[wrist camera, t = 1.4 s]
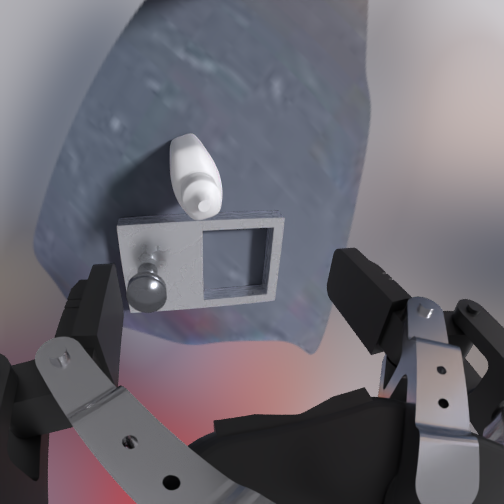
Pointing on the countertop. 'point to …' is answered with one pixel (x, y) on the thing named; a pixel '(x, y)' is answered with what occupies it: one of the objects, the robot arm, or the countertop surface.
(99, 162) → the countertop surface
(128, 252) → the bolt plate
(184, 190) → the eye dropper bottle
